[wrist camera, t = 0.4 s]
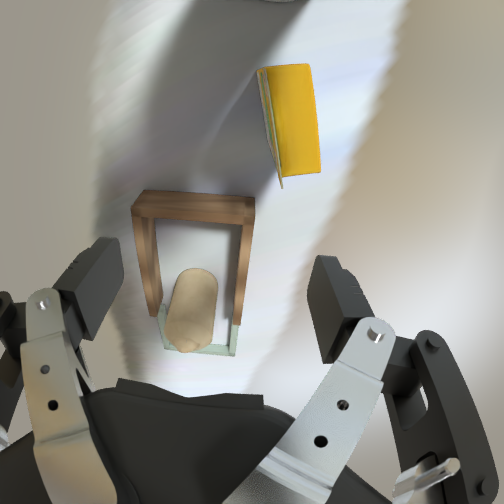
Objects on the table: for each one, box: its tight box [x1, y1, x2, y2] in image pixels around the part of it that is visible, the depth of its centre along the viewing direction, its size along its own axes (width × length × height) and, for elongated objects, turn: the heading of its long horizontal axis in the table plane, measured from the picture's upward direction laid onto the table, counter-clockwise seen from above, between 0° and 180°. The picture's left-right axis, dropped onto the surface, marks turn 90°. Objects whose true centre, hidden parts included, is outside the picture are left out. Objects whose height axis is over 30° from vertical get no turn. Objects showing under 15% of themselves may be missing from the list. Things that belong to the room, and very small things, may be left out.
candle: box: [164, 268, 218, 353], centre depth 32 cm, size 6×6×10 cm
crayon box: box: [256, 64, 321, 189], centre depth 18 cm, size 7×3×12 cm, turn 9°
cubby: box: [131, 190, 255, 325], centre depth 31 cm, size 16×12×4 cm
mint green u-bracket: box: [157, 304, 239, 356], centre depth 41 cm, size 10×12×2 cm
